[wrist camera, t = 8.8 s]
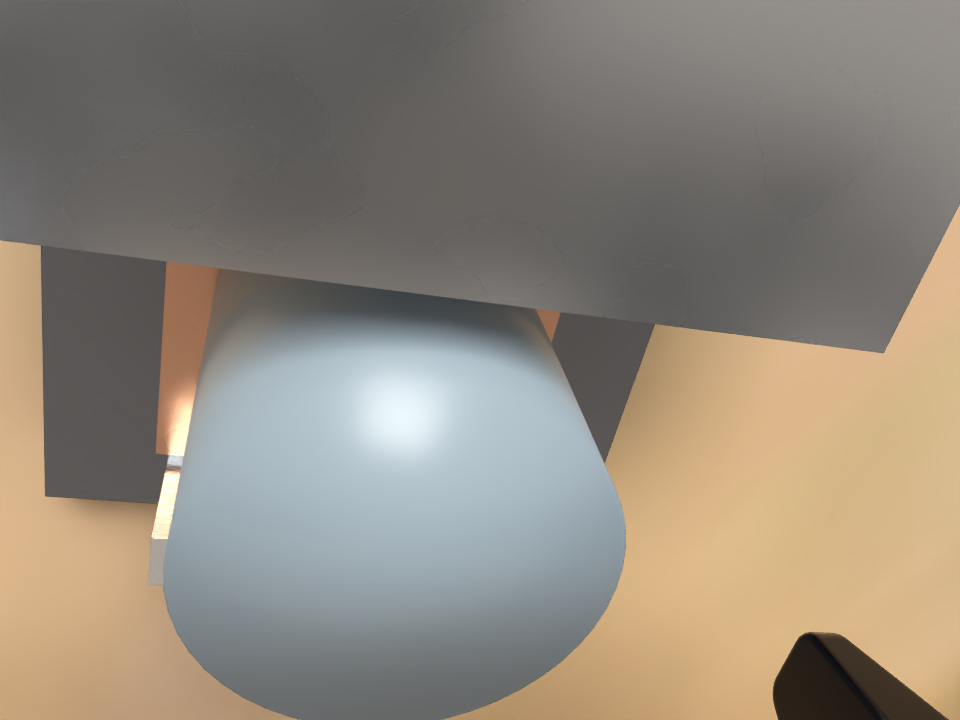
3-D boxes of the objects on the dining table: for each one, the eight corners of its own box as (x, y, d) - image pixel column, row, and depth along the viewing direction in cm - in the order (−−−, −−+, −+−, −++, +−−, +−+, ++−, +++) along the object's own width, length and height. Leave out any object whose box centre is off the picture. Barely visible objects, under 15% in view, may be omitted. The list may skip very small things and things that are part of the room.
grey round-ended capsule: (484, 448, 17) (559, 728, 12) (203, 424, 16) (152, 726, 11) (554, 195, 14) (686, 411, 9) (228, 142, 13) (177, 360, 8)
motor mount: (805, -209, 13) (1229, -211, 7) (565, 492, 19) (682, 809, 13) (55, -433, 11) (-281, -736, 5) (60, 454, 17) (-77, 820, 11)
